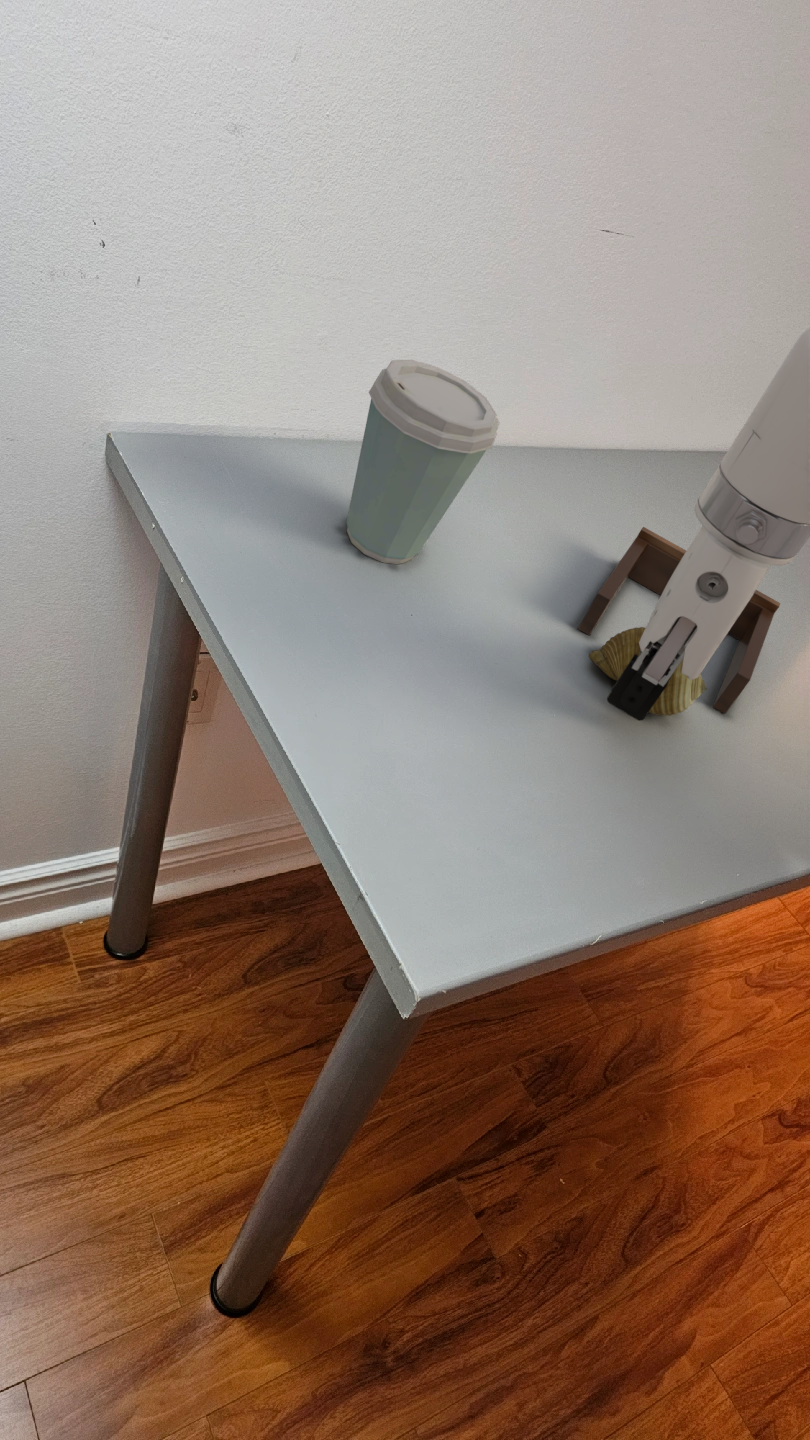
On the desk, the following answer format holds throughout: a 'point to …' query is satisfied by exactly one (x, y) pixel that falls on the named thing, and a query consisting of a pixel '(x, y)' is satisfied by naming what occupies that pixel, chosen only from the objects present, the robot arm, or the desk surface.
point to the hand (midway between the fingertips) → (626, 706)
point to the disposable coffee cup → (415, 457)
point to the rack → (653, 569)
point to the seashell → (627, 644)
